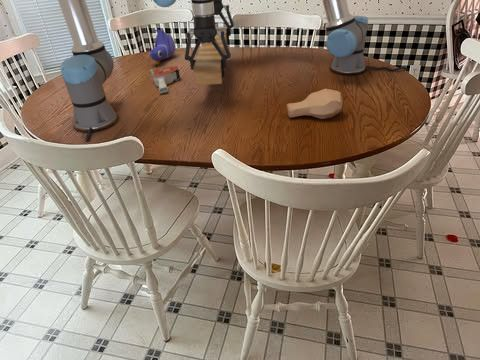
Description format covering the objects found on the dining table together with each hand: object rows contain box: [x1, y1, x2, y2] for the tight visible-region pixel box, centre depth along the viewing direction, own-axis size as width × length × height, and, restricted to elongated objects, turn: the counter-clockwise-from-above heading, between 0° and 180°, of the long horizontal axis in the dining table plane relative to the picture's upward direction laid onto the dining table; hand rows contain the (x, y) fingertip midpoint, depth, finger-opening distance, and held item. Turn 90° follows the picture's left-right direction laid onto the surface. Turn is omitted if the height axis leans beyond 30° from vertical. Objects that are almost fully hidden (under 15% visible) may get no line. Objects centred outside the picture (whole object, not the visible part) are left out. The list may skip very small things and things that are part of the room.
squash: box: [285, 88, 344, 120], centre depth 126 cm, size 11×20×9 cm, turn 92°
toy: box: [148, 28, 176, 66], centre depth 186 cm, size 10×17×25 cm
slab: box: [193, 26, 227, 86], centre depth 155 cm, size 58×10×7 cm, turn 179°
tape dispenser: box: [149, 65, 181, 94], centre depth 160 cm, size 18×5×20 cm
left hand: (209, 77), depth 138 cm, fingers closed on slab, 10 cm apart
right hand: (217, 43), depth 175 cm, fingers closed on slab, 10 cm apart
